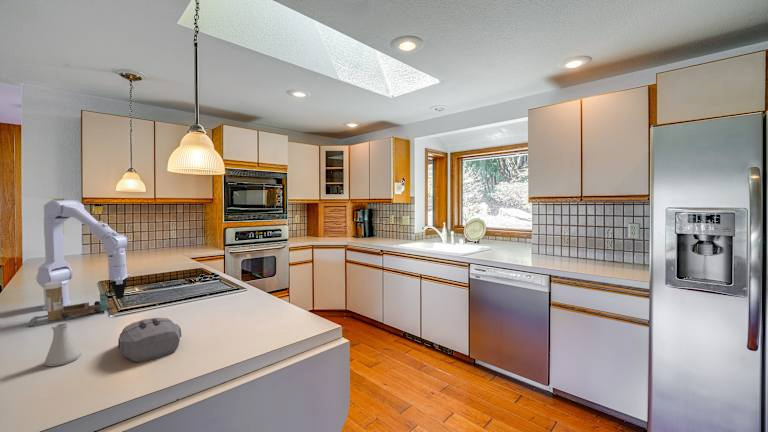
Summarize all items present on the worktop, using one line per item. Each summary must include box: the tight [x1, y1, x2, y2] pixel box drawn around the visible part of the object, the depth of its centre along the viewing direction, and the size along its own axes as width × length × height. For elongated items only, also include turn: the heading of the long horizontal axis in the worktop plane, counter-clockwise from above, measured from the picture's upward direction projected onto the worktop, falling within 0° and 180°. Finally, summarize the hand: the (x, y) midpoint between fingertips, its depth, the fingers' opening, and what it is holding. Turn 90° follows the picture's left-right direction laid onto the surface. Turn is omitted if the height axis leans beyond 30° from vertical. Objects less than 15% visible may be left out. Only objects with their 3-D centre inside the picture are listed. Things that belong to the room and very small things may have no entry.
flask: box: [43, 322, 82, 367], centre depth 93 cm, size 7×7×10 cm
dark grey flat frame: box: [29, 311, 105, 328], centre depth 128 cm, size 11×20×1 cm, turn 130°
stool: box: [60, 292, 107, 319], centre depth 130 cm, size 11×13×5 cm
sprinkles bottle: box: [45, 281, 64, 321], centre depth 125 cm, size 5×5×13 cm
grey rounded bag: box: [117, 317, 183, 363], centre depth 100 cm, size 15×8×20 cm
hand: (119, 298), depth 137 cm, fingers closed
